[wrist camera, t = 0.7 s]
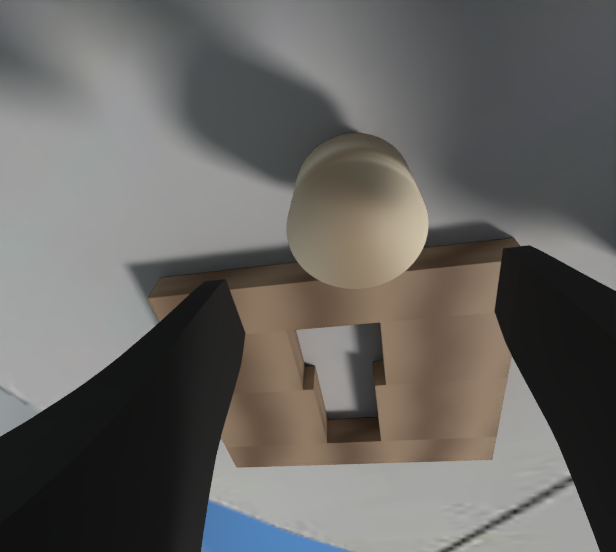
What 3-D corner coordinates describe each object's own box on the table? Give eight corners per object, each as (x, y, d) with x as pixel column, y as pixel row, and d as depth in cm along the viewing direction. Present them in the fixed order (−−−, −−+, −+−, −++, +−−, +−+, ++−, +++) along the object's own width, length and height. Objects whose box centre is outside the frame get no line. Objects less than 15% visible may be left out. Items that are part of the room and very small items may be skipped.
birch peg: (399, 106, 17) (428, 152, 11) (403, 206, 19) (428, 281, 14) (292, 124, 17) (272, 176, 12) (310, 218, 20) (300, 294, 15)
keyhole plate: (513, 237, 20) (529, 258, 18) (483, 435, 30) (492, 459, 28) (160, 277, 23) (147, 298, 21) (241, 444, 33) (236, 467, 31)
